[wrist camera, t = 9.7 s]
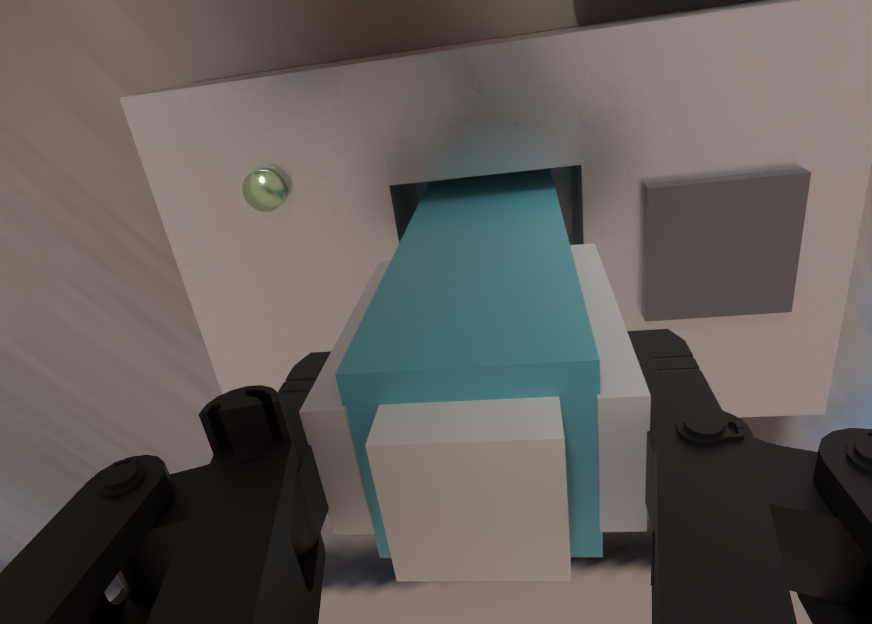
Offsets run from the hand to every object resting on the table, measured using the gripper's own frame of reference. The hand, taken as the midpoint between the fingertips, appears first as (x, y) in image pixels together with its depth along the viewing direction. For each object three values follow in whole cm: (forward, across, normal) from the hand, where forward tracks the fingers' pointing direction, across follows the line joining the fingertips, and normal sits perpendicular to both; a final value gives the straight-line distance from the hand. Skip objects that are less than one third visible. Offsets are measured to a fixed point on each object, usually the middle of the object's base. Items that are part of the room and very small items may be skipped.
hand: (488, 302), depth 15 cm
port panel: (+8, 0, 0) cm, 8 cm away
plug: (+6, 0, 0) cm, 6 cm away
